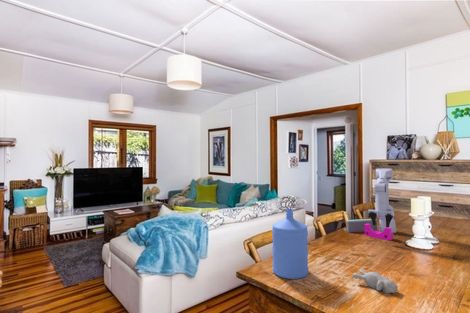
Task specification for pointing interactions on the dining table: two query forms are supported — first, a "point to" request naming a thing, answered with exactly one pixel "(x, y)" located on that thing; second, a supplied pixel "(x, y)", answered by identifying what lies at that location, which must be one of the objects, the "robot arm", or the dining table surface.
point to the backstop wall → (359, 225)
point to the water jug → (290, 248)
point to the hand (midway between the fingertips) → (380, 226)
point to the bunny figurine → (377, 281)
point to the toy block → (379, 233)
